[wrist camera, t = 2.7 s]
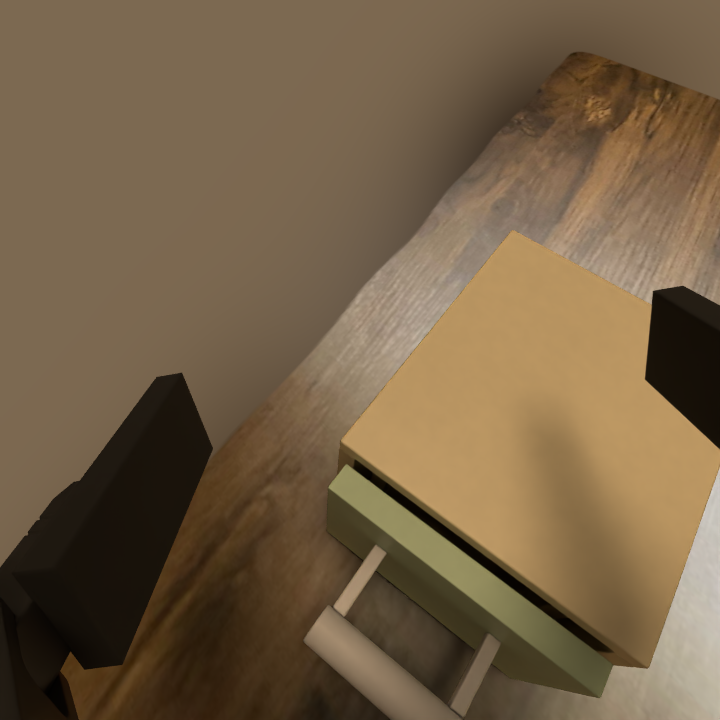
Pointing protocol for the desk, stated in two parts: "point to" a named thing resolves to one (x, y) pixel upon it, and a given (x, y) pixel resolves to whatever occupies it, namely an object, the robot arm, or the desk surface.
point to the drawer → (440, 608)
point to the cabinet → (548, 445)
